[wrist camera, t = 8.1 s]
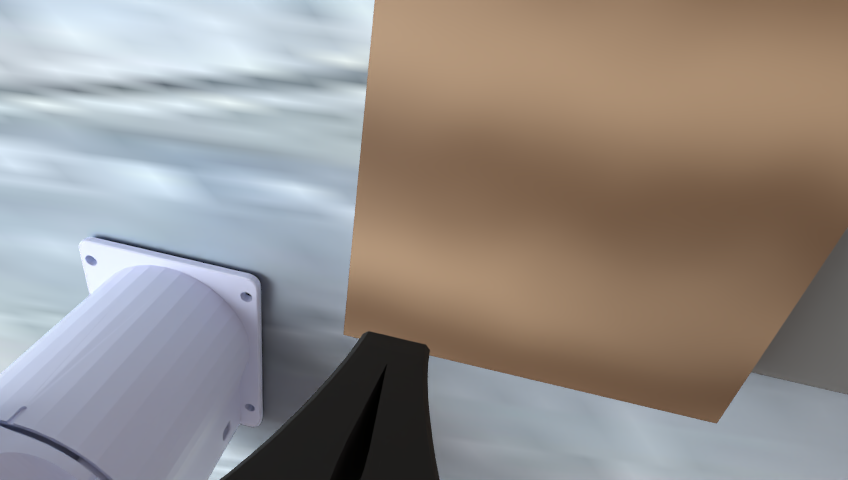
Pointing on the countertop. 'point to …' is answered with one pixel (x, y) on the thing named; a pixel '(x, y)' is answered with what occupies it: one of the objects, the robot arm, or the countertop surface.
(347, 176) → the countertop surface
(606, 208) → the board
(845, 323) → the mat
